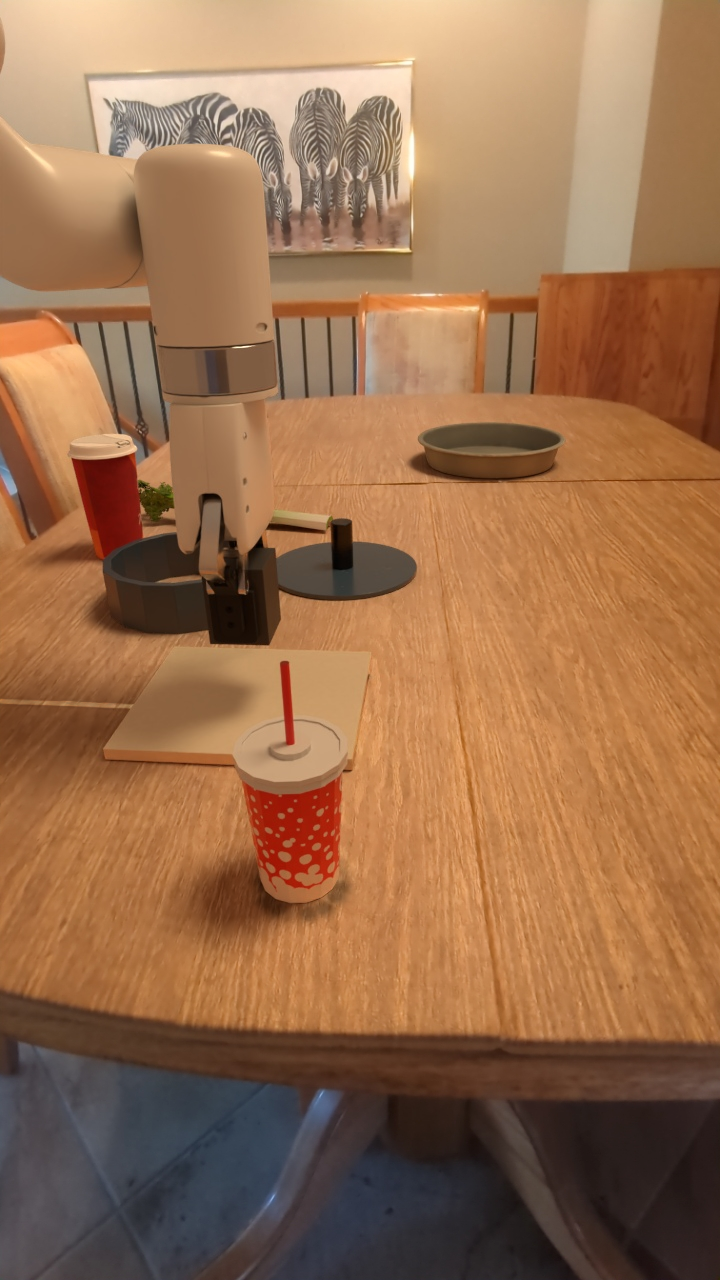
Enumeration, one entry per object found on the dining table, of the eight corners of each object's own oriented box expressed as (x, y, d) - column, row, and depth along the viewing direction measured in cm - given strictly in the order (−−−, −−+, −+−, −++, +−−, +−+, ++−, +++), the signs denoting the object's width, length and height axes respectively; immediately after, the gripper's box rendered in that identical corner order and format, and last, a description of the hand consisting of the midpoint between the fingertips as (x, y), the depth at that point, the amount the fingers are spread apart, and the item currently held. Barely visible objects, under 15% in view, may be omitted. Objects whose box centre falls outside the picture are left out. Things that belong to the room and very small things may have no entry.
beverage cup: (341, 920, 41) (331, 699, 34) (233, 906, 42) (204, 689, 35) (360, 842, 46) (356, 639, 40) (264, 832, 47) (244, 632, 41)
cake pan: (387, 463, 130) (387, 436, 128) (480, 440, 145) (482, 416, 143) (499, 490, 114) (501, 461, 112) (592, 462, 128) (595, 435, 126)
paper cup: (166, 549, 94) (149, 435, 87) (124, 570, 88) (103, 449, 81) (116, 541, 97) (97, 430, 90) (73, 561, 91) (49, 444, 84)
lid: (254, 603, 78) (249, 546, 76) (284, 548, 93) (280, 498, 90) (414, 607, 77) (414, 549, 74) (419, 550, 92) (419, 500, 89)
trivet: (104, 760, 54) (102, 748, 54) (174, 655, 69) (173, 645, 68) (352, 770, 53) (352, 759, 52) (372, 661, 67) (372, 651, 66)
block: (209, 644, 56) (200, 568, 53) (225, 618, 60) (217, 546, 57) (269, 645, 55) (262, 569, 53) (281, 619, 59) (275, 547, 57)
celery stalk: (321, 555, 96) (110, 521, 102) (337, 544, 102) (138, 512, 108) (324, 507, 94) (109, 476, 100) (340, 499, 100) (137, 469, 106)
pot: (86, 636, 72) (75, 583, 70) (143, 575, 86) (136, 529, 84) (245, 641, 71) (240, 587, 68) (278, 578, 85) (274, 531, 82)
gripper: (200, 357, 57) (225, 582, 65) (112, 394, 42) (160, 679, 50) (298, 356, 56) (311, 583, 64) (245, 393, 41) (271, 682, 49)
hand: (245, 622), depth 57 cm, fingers closed on block, 4 cm apart
